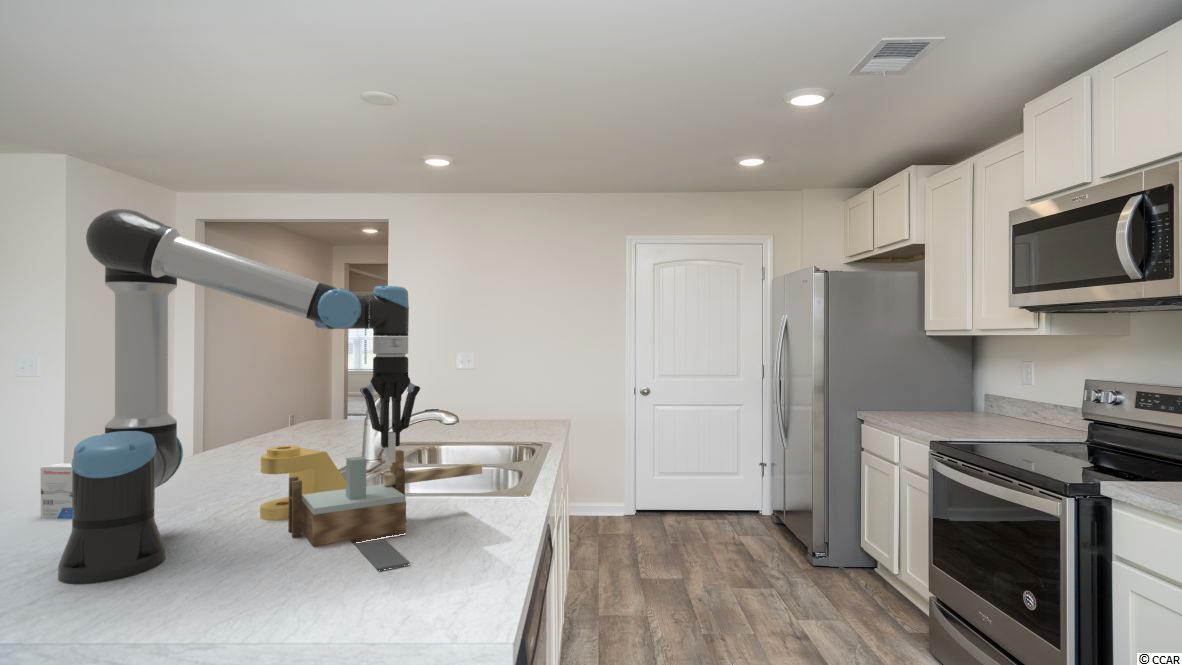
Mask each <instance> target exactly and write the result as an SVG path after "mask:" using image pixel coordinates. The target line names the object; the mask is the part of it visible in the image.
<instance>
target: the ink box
mask: <svg viewBox="0 0 1182 665" xmlns="http://www.w3.org/2000/svg"><path fill="white" fill-rule="evenodd" d="M71 464H72V462H70V463H68V462H67V463H63V462H62V463H61V462H58V463H55V464H48V465H44V466H41V467H40V519H69V520H70V519H72V477H73V469H72V466H71Z"/></svg>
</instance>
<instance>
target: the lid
mask: <svg viewBox="0 0 1182 665" xmlns="http://www.w3.org/2000/svg"><path fill="white" fill-rule="evenodd" d="M345 463H346V464H345V465H346V466H345V467H346V468H345V470H346V472H345V473H346V474H345V481H346V489H342V490H334V491H326V492H318V493H310V494H302V501H303V502H304V504H305V505H306V506H307V507H308V508H309V510H310V511H311V512H312V513H313V514H314V515H316V514H323V513H330V512H337V511H344V510H351V509H357V508H364V507H371V506H378V505H385V504H392V503H399V502H406V503H407V501H406V500H407V498H406V497H407V496H406V494H405V495H404V494H402V493H401V492H399V491H398V490H396V489H395V488H393V487H392V486H385V485H383V483H382V484H376V485H375V484H374V485H368V486H367V458H366V457H365V456H363V455H362V456H354V457H346V462H345Z"/></svg>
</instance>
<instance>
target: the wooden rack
mask: <svg viewBox="0 0 1182 665" xmlns="http://www.w3.org/2000/svg"><path fill="white" fill-rule="evenodd" d="M389 469H390V470H389V473H392V465H390V467H389ZM405 472H406V470H405V468H404V469H396V485H390V486H392V487H393V488H395V489H396V490H398V491H399V492H401V493H402V494H404V495H405V496H406V492H405V490H406V483H405ZM288 497H289V515H288V519H287V520H288V525H287V527H288V528H287V530H288V533H291V538H292V539H295V538H302V534H303V536H305V538H306V539H307V541H308V542H309V543H310V545H311V546H312V548H317V547H320V546H321V547H322V546H326V545H331V544H337V543H343V542H347V541H350V542H351V544H353V543H356V542H362V541H366V540H371V539H377V538H381V537H386V536H392V535H393V536H394V535H399V534H404V533H406V534H407V501H406V502H399V503H392V504H385V505H378V506H371V507H364V508H357V509H351V510H344V511H337V512H330V513H323V514H316V515H314V514H313V513H312V512H311V511H310V510H309V508H308V507H307V506H306V505H305V504H304V502H303V501H302V481H301V480H298V477H297V476H296V477H289V476H288Z"/></svg>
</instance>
